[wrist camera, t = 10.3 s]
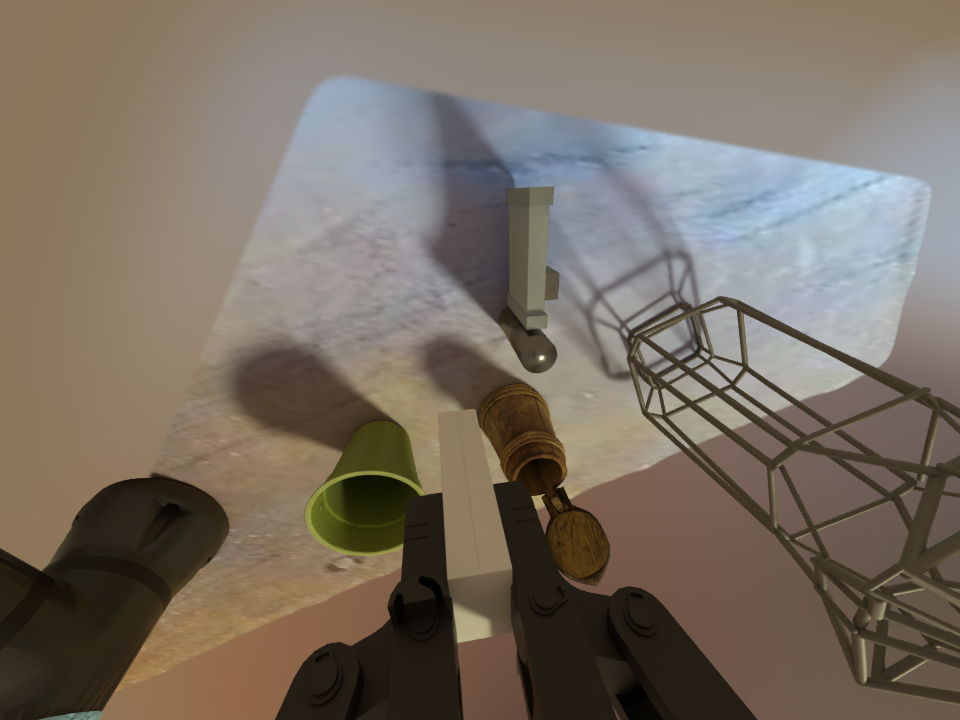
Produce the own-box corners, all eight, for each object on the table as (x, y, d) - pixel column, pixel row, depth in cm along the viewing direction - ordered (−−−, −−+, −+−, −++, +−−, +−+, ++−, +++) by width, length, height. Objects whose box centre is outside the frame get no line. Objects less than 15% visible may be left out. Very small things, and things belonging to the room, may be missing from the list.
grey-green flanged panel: (523, 302, 37) (546, 328, 29) (506, 303, 36) (526, 330, 29) (525, 188, 32) (553, 186, 25) (506, 189, 32) (529, 187, 24)
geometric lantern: (729, 363, 46) (1343, 732, 15) (621, 414, 47) (973, 840, 17) (713, 258, 39) (1846, 555, 8) (586, 323, 40) (1098, 779, 9)
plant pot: (363, 489, 46) (346, 571, 36) (313, 425, 41) (277, 501, 31) (443, 457, 46) (449, 531, 36) (404, 389, 40) (397, 453, 30)
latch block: (520, 285, 37) (537, 300, 31) (521, 262, 36) (537, 274, 30) (538, 283, 37) (557, 298, 32) (539, 261, 36) (559, 272, 31)
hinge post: (499, 333, 39) (521, 375, 30) (498, 306, 37) (521, 341, 29) (526, 331, 39) (555, 371, 30) (526, 304, 38) (558, 338, 29)
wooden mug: (512, 471, 49) (555, 607, 33) (466, 405, 43) (491, 532, 27) (568, 442, 48) (640, 567, 32) (528, 371, 42) (593, 481, 26)
